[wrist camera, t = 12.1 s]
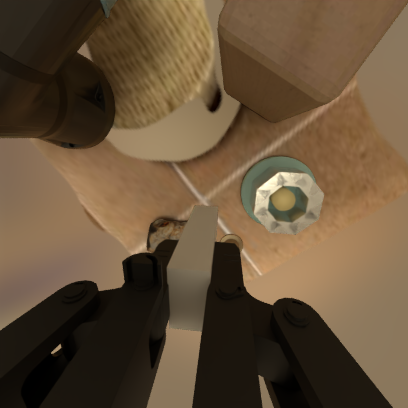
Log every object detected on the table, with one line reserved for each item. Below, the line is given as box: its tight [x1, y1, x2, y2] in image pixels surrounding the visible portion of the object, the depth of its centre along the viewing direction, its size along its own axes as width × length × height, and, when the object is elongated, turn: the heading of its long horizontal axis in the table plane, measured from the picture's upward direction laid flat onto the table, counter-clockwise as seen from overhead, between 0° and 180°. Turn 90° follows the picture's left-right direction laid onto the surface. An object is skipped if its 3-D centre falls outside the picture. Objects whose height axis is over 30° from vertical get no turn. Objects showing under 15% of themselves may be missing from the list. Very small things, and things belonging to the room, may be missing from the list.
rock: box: [147, 218, 187, 253], centre depth 39 cm, size 9×6×10 cm
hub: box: [241, 156, 316, 225], centre depth 33 cm, size 12×12×6 cm
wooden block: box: [218, 0, 408, 123], centre depth 21 cm, size 10×10×20 cm
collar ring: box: [250, 166, 324, 235], centre depth 31 cm, size 9×9×6 cm
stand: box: [220, 234, 243, 252], centre depth 38 cm, size 4×4×4 cm
